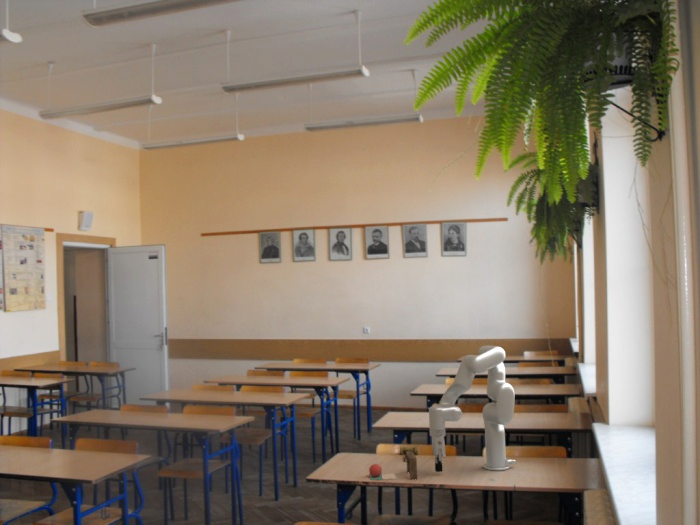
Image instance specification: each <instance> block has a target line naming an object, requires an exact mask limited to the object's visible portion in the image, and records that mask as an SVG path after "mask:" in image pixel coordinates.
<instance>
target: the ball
mask: <svg viewBox="0 0 700 525" xmlns="http://www.w3.org/2000/svg"><path fill="white" fill-rule="evenodd" d="M368 471H369V476H370V475H371V476H373V477H378V476H380V475H381V473H383V471H382V467H381V465H380V464H377V463H374V464H372V465H371V466H370V467H369V469H368Z"/></svg>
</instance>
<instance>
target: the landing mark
mask: <svg viewBox="0 0 700 525" xmlns="http://www.w3.org/2000/svg"><path fill="white" fill-rule="evenodd" d="M382 473H383V472H381V475H380V476H378V477H373V476H371V475H370V474H369V477H370V481H383V480H382V479H383V478H382Z"/></svg>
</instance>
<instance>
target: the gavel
mask: <svg viewBox="0 0 700 525" xmlns="http://www.w3.org/2000/svg"><path fill="white" fill-rule="evenodd" d="M411 451H412V452H413V453H414V455H415V456H419V455H420V447H419V446H414V447H413V446H406V447H405V446H400V447H399V455H400V456H401V455H402V456H403V455H405V456H404V458H403V460H404V462H406V461H407V456H406V452H411Z"/></svg>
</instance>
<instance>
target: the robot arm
mask: <svg viewBox="0 0 700 525" xmlns="http://www.w3.org/2000/svg"><path fill="white" fill-rule="evenodd" d="M505 359H506V351H505V350H504V348H502V347H500V346H497V345H487V344H486V345H482V346H481V347H480V348H479V349H478V355H477V354H476V355H475V354H467V355H464V356H463V358H462V360H461V362H460V364H459V366H458V369H457V372H456V374H455V377H454V380H453V382H452V383H451V384H450V385H449V387H448V388H447V389H446V390H445V392H444V393H443V395H442V397H441V400H440V402H439V405H433V406H430V407H429V408H428V420H429V423H428V424H429V437H431V441H432V442H431V446H432V448H431V449H432V455H433V456H434V461H435V463H434V470H435V472H436V473H442V472H443V458H446V456H447V455H446V444H445V437H446V422H454V423H455V422H458V421H459V420H461V418H462V415H463V411H462V409H461V408H460V407H459V406H457V405H455V403H456V401H457V400H458V398H459V397H461V395H463V394H464V393H467V392H468V391H469V390H470V389H471V387H472V384H473V381H474V379H475V376H476V374H481V373H485V372H487V383H486V384H487V385H486V395H487V397H488V398H489V399H491V400H493V401H496V402H488V403H486V404H485V405H484V406H483V408H482V419H483V423H484V425H483V426H484V434H485V435H484V438H485V439H484V442H485V443H484V444H485V462H486V463H484V464H483V465H482V467H483V468H484V470H489V471H506V470H509V469H510V464H511V465H513V464H514V465H515V464H517V462H516V459H511V458H510V459H508V458H507V455H506V454H507V452H506V432H505V426H507V425H509V424H510V423H512V421H513V418H514V413H515V398H516V396H515V395H516V393H515V389H514V387H513V386H512V385H511V383H509V382H506V368H505V364H504V362H505Z"/></svg>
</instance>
